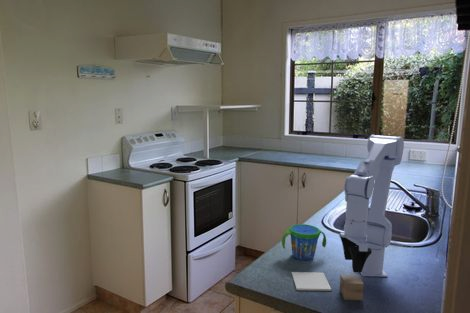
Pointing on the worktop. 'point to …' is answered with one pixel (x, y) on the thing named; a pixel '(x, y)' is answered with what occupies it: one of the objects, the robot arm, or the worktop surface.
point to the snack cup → (303, 240)
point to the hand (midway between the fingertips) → (352, 265)
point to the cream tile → (310, 281)
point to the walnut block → (351, 287)
